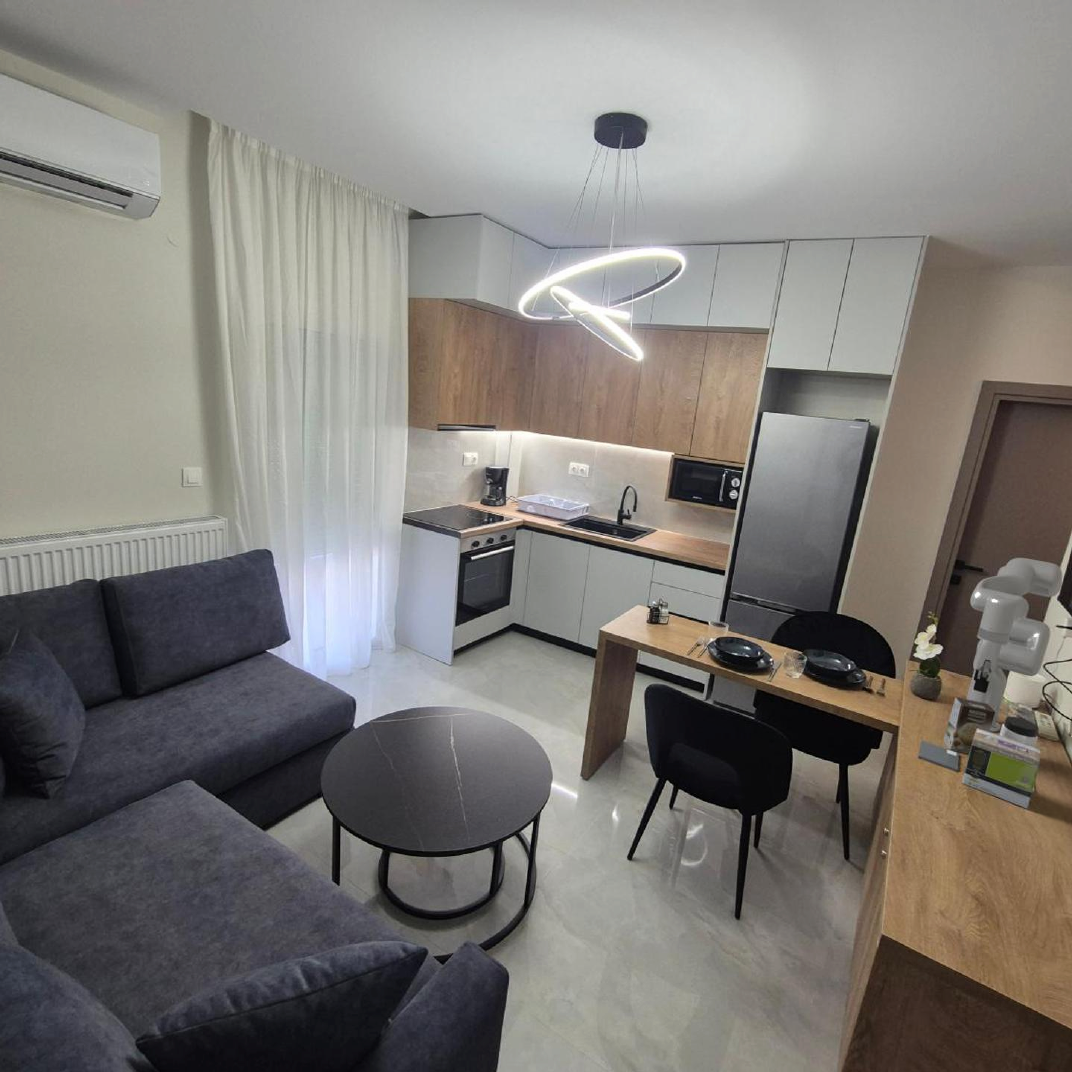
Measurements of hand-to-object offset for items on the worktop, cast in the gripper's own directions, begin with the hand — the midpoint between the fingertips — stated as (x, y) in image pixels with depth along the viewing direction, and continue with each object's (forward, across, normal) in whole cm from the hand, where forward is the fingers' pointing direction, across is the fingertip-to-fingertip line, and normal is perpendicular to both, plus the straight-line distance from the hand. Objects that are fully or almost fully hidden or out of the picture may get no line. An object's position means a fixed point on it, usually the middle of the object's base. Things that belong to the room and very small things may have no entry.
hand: (979, 686), depth 181 cm
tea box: (+22, +20, +8) cm, 31 cm away
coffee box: (+22, 0, 0) cm, 22 cm away
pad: (+22, +12, -6) cm, 26 cm away
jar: (+22, -7, +13) cm, 27 cm away
